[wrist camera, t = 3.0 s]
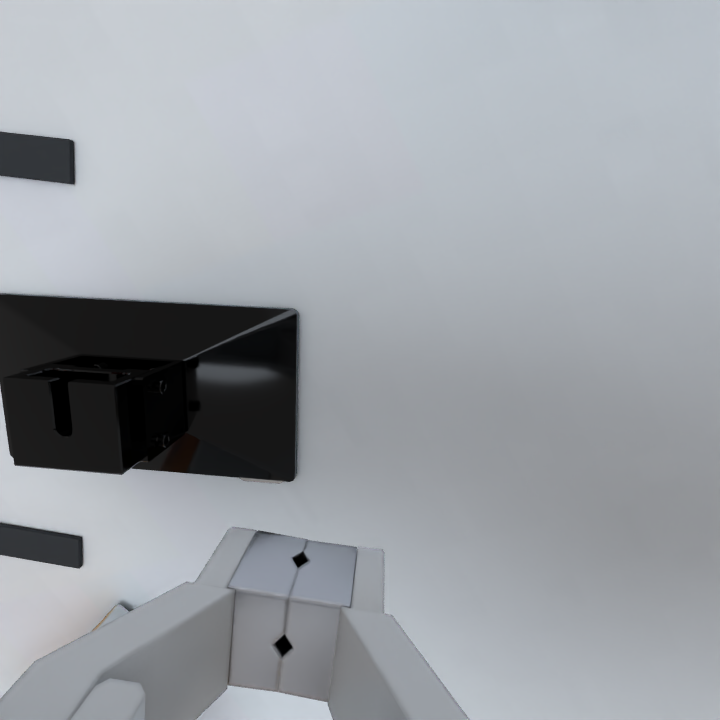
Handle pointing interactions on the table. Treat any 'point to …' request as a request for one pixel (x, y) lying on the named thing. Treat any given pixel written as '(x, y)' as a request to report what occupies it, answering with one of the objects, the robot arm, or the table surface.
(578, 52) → the table surface
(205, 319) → the build plate
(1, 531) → the bay lines
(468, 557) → the table surface
